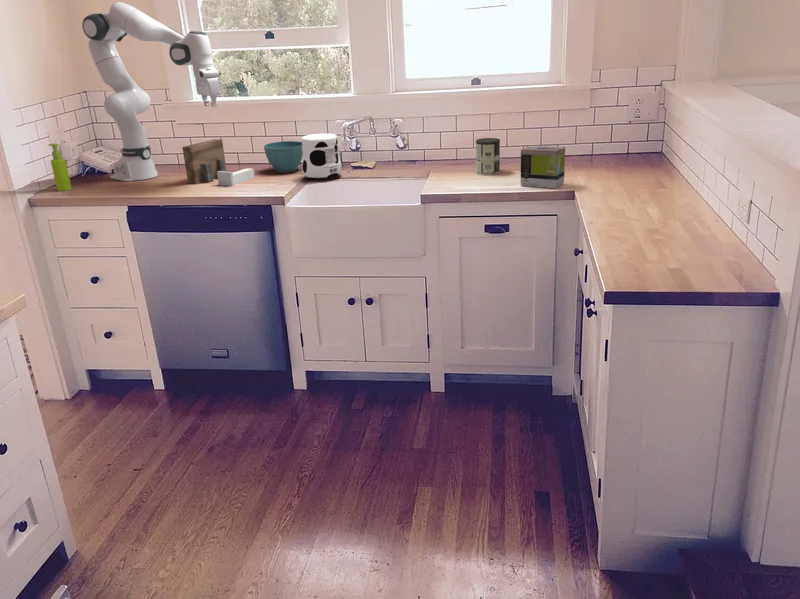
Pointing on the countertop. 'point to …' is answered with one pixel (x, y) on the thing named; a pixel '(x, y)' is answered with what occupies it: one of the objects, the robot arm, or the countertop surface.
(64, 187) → the soap dispenser
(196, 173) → the brown wooden block
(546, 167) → the tea box
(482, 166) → the coffee can
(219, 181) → the white t-shaped piece
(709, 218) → the countertop surface
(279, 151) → the teal bowl
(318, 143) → the milk container
